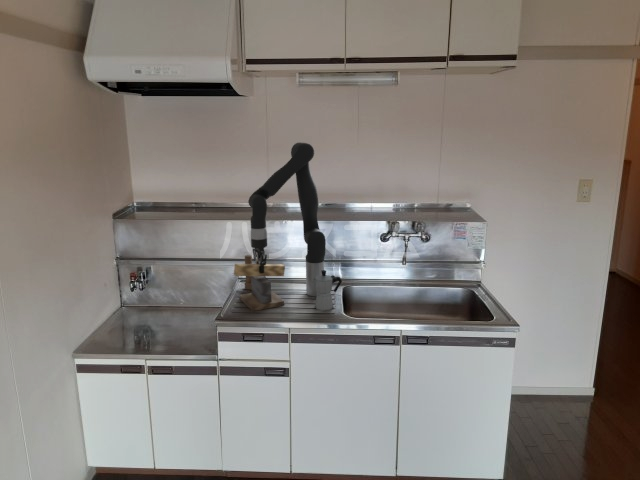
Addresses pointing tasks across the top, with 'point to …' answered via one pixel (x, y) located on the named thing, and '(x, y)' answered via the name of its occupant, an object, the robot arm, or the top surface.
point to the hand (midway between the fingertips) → (260, 271)
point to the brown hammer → (248, 278)
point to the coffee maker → (325, 290)
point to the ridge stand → (261, 295)
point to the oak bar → (254, 270)
